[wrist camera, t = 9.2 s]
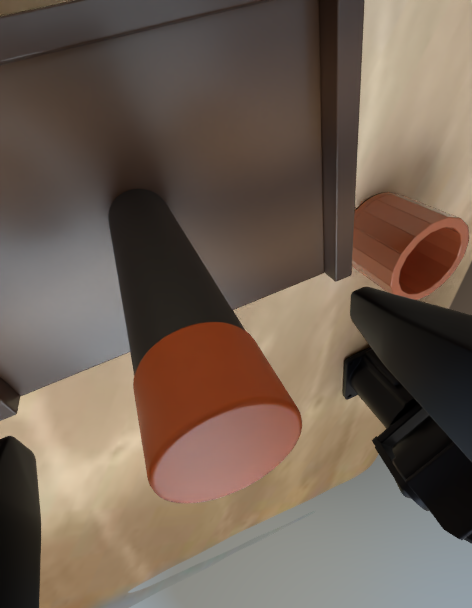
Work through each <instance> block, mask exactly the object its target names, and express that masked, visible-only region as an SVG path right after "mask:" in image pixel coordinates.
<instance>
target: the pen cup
mask: <svg viewBox="0 0 472 608" xmlns="http://www.w3.org/2000/svg"><path fill="white" fill-rule="evenodd" d="M468 242H469V230H468V226H467V224H466V223H465V222H464V221H463V220H462V219H461V218H459V217H457V216H454V215H451V214H449V213H446V212H444V211H441V210H439V209H436V208H434V207H431V206H429V205H426V204H423V203H421V202H418V201H416V200H413V199H411V198H408V197H406V196H403V195H399V194H396V193H392V192H385V193H380V194H377V195H375V196H373V197H371V198H369V199H368V200H367V201H365V202H364V203H363V204H362V205H360V206H359V207H358V209H357V210H356V211H355V212H354V231H353V252H352V267H354V268H355V269H356V270H358V271H359V272H361V273H362V274H363V275H365V276H366V277H367V278H369V279H370V280H372V281H373V282H374V283H376V284H377V285H378V286H380V287H381V288H382V289H384V290H385V291H387V292H388V293H392V294H395V295H399V296H403V297H406V298H410V299H414V300H419V299H421V298H423V297H425V296H427V295H429V294H431V293H432V292H433V291H435V290H436V289H437V288H438V287H440V286H441V285H442V284H443V283H444V282H445V281H446V280H447V279H448V278H449V277H450V276H451V275H452V273H453V272H454V271H455V270H456V268H457V267H458V265H459V263H460V262H461V260H462V258H463V257H464V254H465V251H466V248H467V245H468Z"/></svg>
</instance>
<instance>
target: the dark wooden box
mask: <svg viewBox="0 0 472 608" xmlns="http://www.w3.org/2000/svg"><path fill="white" fill-rule="evenodd" d="M363 20H364V0H74V1H70V2H65V3H60V4H56V5H51V6H46V7H42V8H37V9H32V10H28V11H23V12H18V13H14V14H9V15H4V16H0V421H1V420H4V419H6V418H8V417H11V416H13V415H16V414H17V410H18V405H19V400H20V396H23V395H25V394H28V393H30V392H32V391H35V390H37V389H40V388H42V387H45V386H47V385H50V384H52V383H55V382H57V381H59V380H62V379H64V378H67V377H69V376H72V375H74V374H77V373H79V372H82V371H84V370H87V369H89V368H91V367H94V366H96V365H99V364H101V363H104V362H106V361H109V360H111V359H114V358H116V357H118V356H121V355H123V354H126V353H128V352H130V346H129V340H128V335H127V329H126V323H125V317H124V311H123V305H122V299H121V293H120V287H119V281H118V275H117V269H116V263H115V257H114V251H113V245H112V239H111V233H110V227H109V221H108V214H109V209H110V206H111V204H112V203H113V201H114V200H115V199H116V198H117V197H118V196H119V195H120V194H122V193H124V192H126V191H128V190H132V189H146V190H149V191H152V192H154V193H156V194H157V195H159V196H160V197H161V198H162V199H163V200H164V201H165V202H166V204H167V206H168V207H169V209H170V210H171V212H172V214H173V215H174V217H175V218H176V220H177V222H178V223H179V225H180V226H181V228H182V230H183V231H184V233H185V234H186V236H187V238H188V239H189V241H190V242H191V244H192V246H193V247H194V249H195V251H196V252H197V254H198V255H199V257H200V259H201V260H202V262H203V263H204V265H205V267H206V268H207V270H208V271H209V273H210V275H211V276H212V278H213V279H214V281H215V283H216V284H217V286H218V287H219V289H220V291H221V292H222V294H223V295H224V297H225V299H226V300H227V302H228V304H229V305H230V307H231V308H232V310H234V309H236V308H239V307H241V306H244V305H246V304H249V303H251V302H254V301H256V300H259V299H261V298H263V297H266V296H268V295H271V294H273V293H276V292H278V291H281V290H283V289H286V288H288V287H291V286H293V285H295V284H298V283H300V282H303V281H305V280H308V279H310V278H313V277H315V276H318V275H320V274H322V273H324V272H325V273H326V274H327V275H328V276H329V277H331V278H332V279H333V280H334V281H338V280H341V279H343V278H346V277H348V276H350V275H351V273H352V252H353V231H354V210H355V189H356V168H357V147H358V125H359V104H360V83H361V62H362V41H363Z"/></svg>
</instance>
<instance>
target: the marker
mask: <svg viewBox="0 0 472 608" xmlns="http://www.w3.org/2000/svg"><path fill="white" fill-rule="evenodd" d="M108 221H109V227H110V233H111V239H112V245H113V251H114V257H115V263H116V269H117V275H118V281H119V287H120V293H121V299H122V305H123V311H124V317H125V323H126V329H127V335H128V340H129V346H130V352H131V358H132V364H133V370H134V383H133V386H134V395H135V401H136V407H137V414H138V420H139V426H140V433H141V439H142V445H143V451H144V458H145V464H146V470H147V477H148V481H149V484H150V486H151V487H152V489H153V490H154V492H155V493H156V494H157V495H158V496H159V497H161V498H163V499H165V500H167V501H171V502H176V503H198V502H204V501H209V500H213V499H217V498H220V497H223V496H226V495H229V494H231V493H234V492H236V491H238V490H241V489H243V488H245V487H247V486H248V485H250V484H252V483H254V482H255V481H257V480H259V479H260V478H262V477H263V476H265V475H266V474H268V473H269V472H270V471H271V470H273V469H274V468H275V467H276V466H277V465H279V464H280V463H281V462H282V461H283V460H284V459H285V458H286V457H287V455H288V454H289V453H290V452H291V450H292V449H293V448H294V446H295V445H296V443H297V441H298V439H299V436H300V433H301V429H302V420H301V415H300V412H299V410H298V408H297V406H296V405H295V403H294V402H293V400H292V399H291V397H290V395H289V394H288V392H287V391H286V389H285V388H284V386H283V384H282V383H281V381H280V380H279V378H278V376H277V375H276V373H275V372H274V370H273V369H272V367H271V365H270V364H269V362H268V361H267V359H266V358H265V356H264V354H263V353H262V351H261V350H260V348H259V347H258V345H257V343H256V342H255V340H254V339H253V338H252V336H251V335H250V334H249V333H247V332H246V331H245V329H244V328H243V326H242V324H241V323H240V321H239V320H238V318H237V316H236V315H235V313H234V312H233V310H232V308H231V307H230V305H229V304H228V302H227V300H226V299H225V297H224V295H223V294H222V292H221V291H220V289H219V287H218V286H217V284H216V283H215V281H214V279H213V278H212V276H211V275H210V273H209V271H208V270H207V268H206V267H205V265H204V263H203V262H202V260H201V259H200V257H199V255H198V254H197V252H196V251H195V249H194V247H193V246H192V244H191V242H190V241H189V239H188V238H187V236H186V234H185V233H184V231H183V230H182V228H181V226H180V225H179V223H178V222H177V220H176V218H175V217H174V215H173V214H172V212H171V210H170V209H169V207H168V206H167V204H166V202H165V201H164V200H163V199H162V198H161V197H160V196H159V195H157V194H156V193H154V192H152V191H149V190H146V189H132V190H128V191H126V192H124V193H122V194H120V195H119V196H118V197H117V198H116V199H115V200H114V201H113V203H112V204H111V206H110V209H109V214H108Z"/></svg>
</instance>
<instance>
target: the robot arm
mask: <svg viewBox="0 0 472 608" xmlns="http://www.w3.org/2000/svg"><path fill="white" fill-rule="evenodd" d="M350 316H351V319H352V321H353V323H354V324H355V326H356V327H357V328H358V330H359V331H360V332H361V334H362V335H363V337H364V338H365V339H366V341H367V342H368V344H369V345H370V346H371V347H370V348H368V349H366V350H364V351H361V352H359V353H357V354H355V355H353V356H351V357H349V358H347V359H346V360H345V362H344V387H343V396H344V397H345V399H350V398H352V397H354V396H356V395H359V396H360V398H361V399H362V400H363V401H364V402H365V404H366V405H367V406H368V407H369V408H370V409H371V411H372V412H373V413H374V414H375V415H376V417H377V418H378V419H379V420H380V421H381V422H382V424H383V425H384V426H385V427H386V428H387V429H386V430H385V431H384V432H383V433H381V434H380V435H379V436H378V437H377V436H376V437H375V438H374V439H373V440H372V441H373V443H374V445H375V448H376V450H377V452H378V453H379V455H380V456H381V458H382V459H383V461H384V463H385V464H386V466H387V467H388V469H389V470H390V472H391V474H392V475H393V477H394V478H395V481H396V483H397V485H398V487H399V489H400V491H401V492H402V494H403V495H404V496H405V497H407V498H411V499H413V500H414V501H415V502H416V503H417V504H418V505H419V506H420V507H422V508H423V509H424V510H426V511H429V510H430V512H431V513H432V514H433V515H434V517H435V518H436V520H437V521H438V522H439V524H440V525H441V527H443V529H444V530H446V531H447V532H449V533H450V534H452V535H453V536H455V537H457V538H458V539H461V540H463V539H464V540H466V541H468V542H470V543H472V315H468V314H465V313H461V312H457V311H454V310H450V309H447V308H443V307H439V306H436V305H432V304H428V303H425V302H421V301H417V300H414V299H410V298H406V297H403V296H399V295H395V294H392V293H388V292H385V291H381V290H377V289H374V288H370V287H363V288H361V289H358V290H356V291H354V292H352V294H351V305H350ZM40 556H41V514H40V503H39V491H38V479H37V468H36V459H35V456H34V454H33V452H32V451H31V450H30V449H28V448H27V447H26V446H25V445H23V444H22V443H21V442H20V441H18V440H17V439H16V438H14V437H12V436H7V437H5V438H2V439H0V608H39V589H40Z"/></svg>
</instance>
